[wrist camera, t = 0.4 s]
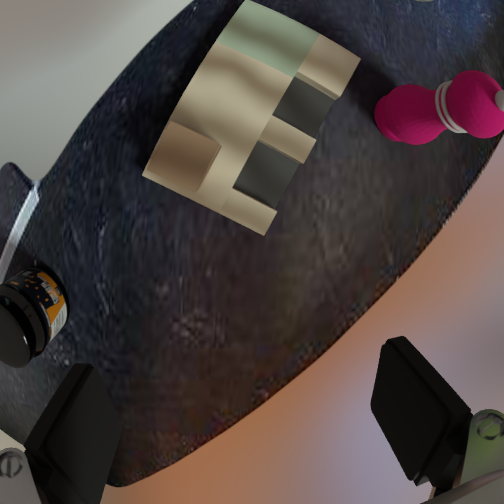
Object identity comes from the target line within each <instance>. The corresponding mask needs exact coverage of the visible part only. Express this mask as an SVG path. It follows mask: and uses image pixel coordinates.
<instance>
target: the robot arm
mask: <svg viewBox="0 0 504 504" xmlns="http://www.w3.org/2000/svg"><path fill="white" fill-rule="evenodd" d="M415 1H419V2H430V1H433V0H415ZM371 410H372V413H373V414H374V416H375V418H376V420H377V422H378V424H379V426H380V427H381V429H382V431H383V433H384V435H385V437H386V439H387V440H388V442H389V444H390V445H391V448H392V450H393V452H394V454H395V455H396V457H397V459H398V461H399V463H400V465H401V467H402V469H403V471H404V472H405V475H406V476H407V478H408V479H409V480H410V481H412V480H413V481H414V483H415V485H416V486H419V485H421V484H423V483H425V482H427V481H430V483H431V485H432V486H433V487H432V490H431V493H430V497H429V499H428V501H425V502H423V503H421V504H504V414H503V413H501V412H499V411H497V410H493V409H485V410H481V411H479V412H478V413H476V414H475V415H474V416H473V414H472V413H471V412H470V411H471V409H470V408H469V407H468V406H467V405H466V403H465V402H464V401H463V400H462V399H461V398H460V397H459V395H458V394H457V393H456V392H455V391H454V390H453V388H452V387H451V386H450V385H449V384H448V383H447V382H446V381H445V380H444V378H442V376H441V375H440V374H439V373H438V372H437V371H436V370H435V368H434V367H433V366H432V365H431V364H430V363H429V362H428V361H427V360H426V359H425V358H424V357H423V355H422V354H421V353H420V352H419V351H418V350H417V349H416V348H415V347H414V346H413V345H412V344H411V343H410V342H409V340H408V339H407V338H406V337H404V336H400V337H396V338H391V339H388V340H387V341H386V343H385V344H384V345H382V347H381V352H380V359H379V364H378V369H377V374H376V379H375V384H374V389H373V394H372V398H371ZM121 433H122V425H121V422H120V420H119V418H118V416H117V414H116V412H115V409H114V407H113V405H112V403H111V401H110V398H109V396H108V394H107V391H106V389H105V387H104V384H103V382H102V379H101V377H100V374H99V372H98V370H97V369H95V368H94V367H93V366H92V365H91V364H82V363H76V364H74V365H73V366H72V368H71V369H70V371H69V372H68V374H67V375H66V377H65V378H64V380H63V381H62V383H61V385H60V386H59V388H58V389H57V391H56V392H55V394H54V395H53V397H52V398H51V400H50V402H49V403H48V405H47V406H46V408H45V410H44V411H43V413H42V415H41V416H40V418H39V419H38V421H37V423H36V424H35V426H34V428H33V430H32V431H31V433H30V435H29V436H28V438H27V440H26V442H25V443H24V445H23V446H24V447H25V449H26V450H25V452H24V453H23V452H22V451H21V450H19V449H17V448H6V449H3V450H1V451H0V504H100V501H101V498H102V494H103V491H104V487H105V484H106V481H107V477H108V474H109V471H110V467H111V464H112V461H113V458H114V454H115V451H116V448H117V445H118V442H119V439H120V436H121Z"/></svg>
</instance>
